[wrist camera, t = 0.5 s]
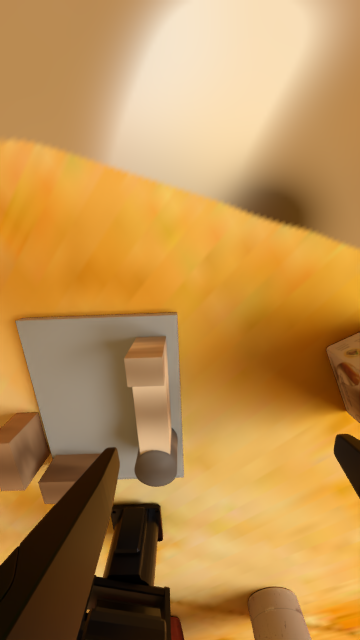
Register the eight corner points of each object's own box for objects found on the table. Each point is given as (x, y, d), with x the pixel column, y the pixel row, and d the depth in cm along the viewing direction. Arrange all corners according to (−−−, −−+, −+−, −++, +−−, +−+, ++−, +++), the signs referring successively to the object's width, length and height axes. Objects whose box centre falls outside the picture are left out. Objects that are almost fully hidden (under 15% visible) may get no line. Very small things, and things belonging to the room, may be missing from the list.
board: (183, 468, 25) (183, 477, 24) (63, 472, 25) (58, 480, 24) (177, 312, 19) (176, 314, 18) (23, 317, 20) (15, 320, 19)
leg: (178, 452, 23) (177, 495, 18) (143, 453, 23) (134, 496, 18) (172, 335, 19) (170, 356, 15) (130, 337, 19) (115, 358, 15)
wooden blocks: (114, 464, 25) (102, 502, 21) (33, 467, 25) (6, 504, 21) (105, 410, 22) (89, 440, 19) (16, 413, 23) (-17, 444, 19)
